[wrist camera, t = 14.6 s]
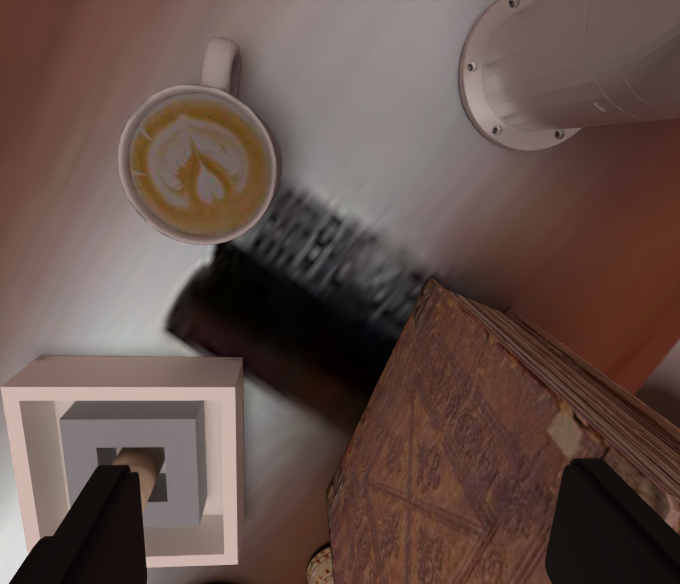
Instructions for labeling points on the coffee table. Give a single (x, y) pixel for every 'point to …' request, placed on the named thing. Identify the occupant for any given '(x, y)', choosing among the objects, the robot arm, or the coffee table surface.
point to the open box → (121, 385)
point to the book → (482, 450)
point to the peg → (143, 466)
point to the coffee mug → (200, 156)
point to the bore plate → (142, 431)
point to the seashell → (321, 568)
